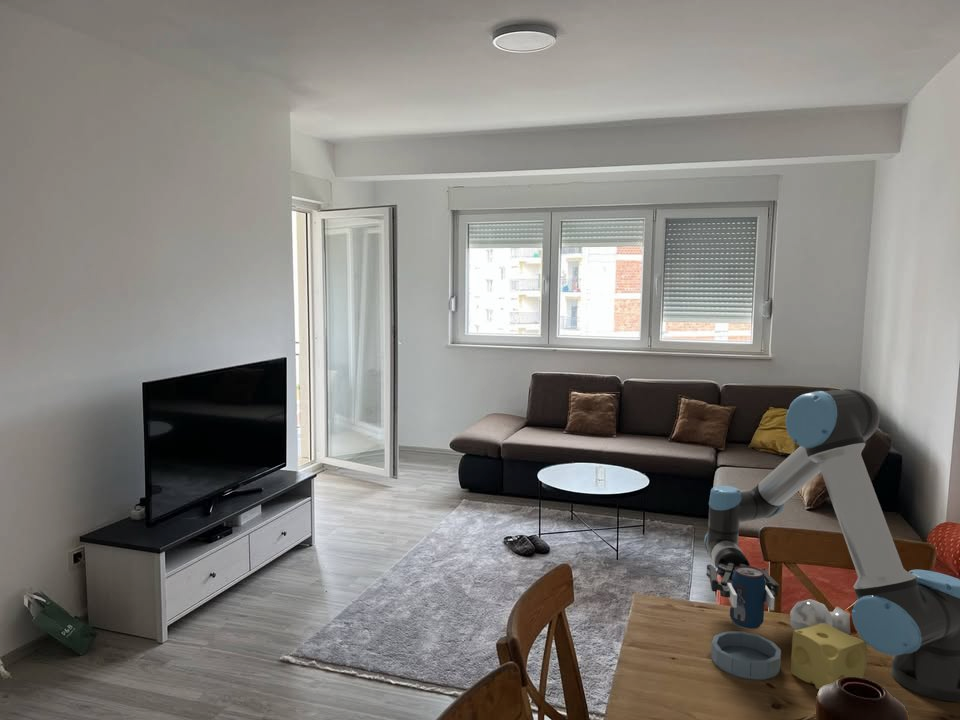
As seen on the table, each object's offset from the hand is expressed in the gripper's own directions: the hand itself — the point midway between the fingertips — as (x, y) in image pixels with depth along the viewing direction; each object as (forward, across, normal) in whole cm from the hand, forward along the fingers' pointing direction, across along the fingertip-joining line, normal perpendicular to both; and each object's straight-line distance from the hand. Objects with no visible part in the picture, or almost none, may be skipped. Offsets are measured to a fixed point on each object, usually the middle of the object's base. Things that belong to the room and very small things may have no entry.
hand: (753, 602), depth 151 cm
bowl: (-5, 0, -16) cm, 17 cm away
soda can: (-5, 0, -7) cm, 9 cm away
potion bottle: (-20, -21, -16) cm, 33 cm away
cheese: (0, -16, -16) cm, 22 cm away
